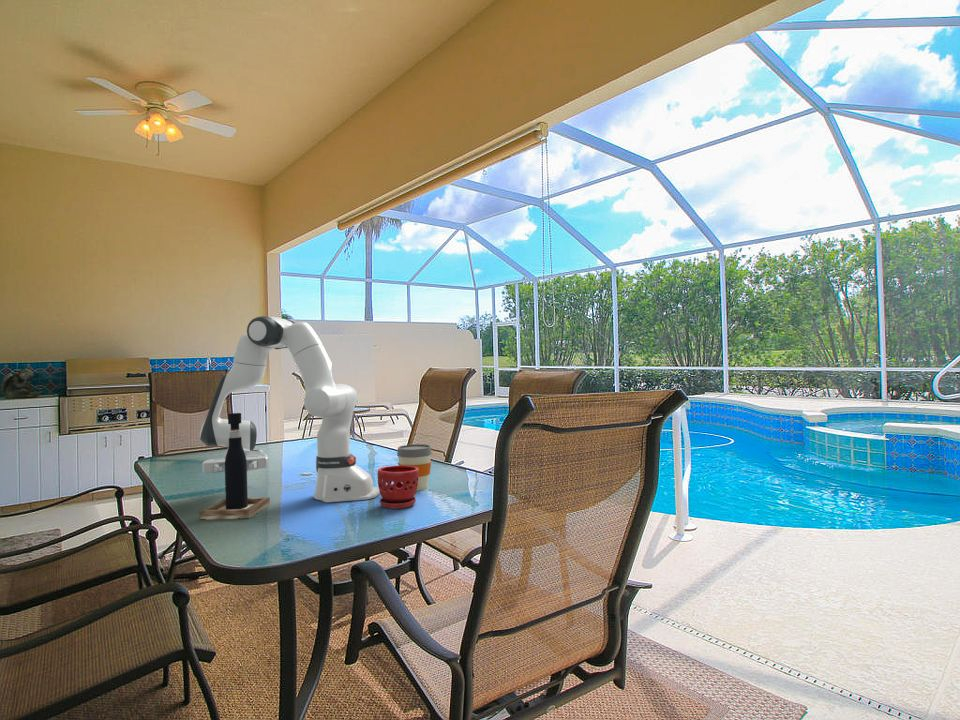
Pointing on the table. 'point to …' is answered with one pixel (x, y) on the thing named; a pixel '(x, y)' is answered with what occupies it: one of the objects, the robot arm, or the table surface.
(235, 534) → the table surface
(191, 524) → the table surface
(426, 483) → the reusable coffee cup
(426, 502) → the table surface
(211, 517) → the bottle coaster
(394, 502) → the plant pot
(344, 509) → the table surface
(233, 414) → the wine bottle
